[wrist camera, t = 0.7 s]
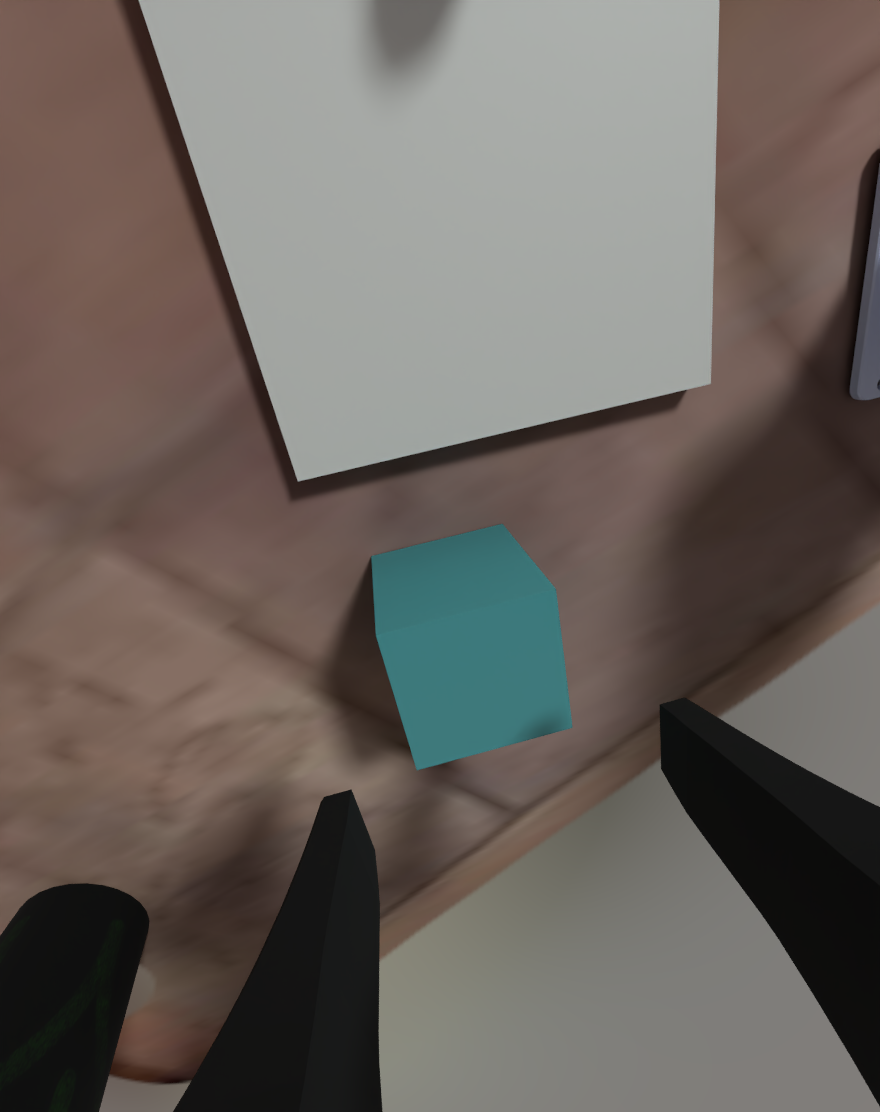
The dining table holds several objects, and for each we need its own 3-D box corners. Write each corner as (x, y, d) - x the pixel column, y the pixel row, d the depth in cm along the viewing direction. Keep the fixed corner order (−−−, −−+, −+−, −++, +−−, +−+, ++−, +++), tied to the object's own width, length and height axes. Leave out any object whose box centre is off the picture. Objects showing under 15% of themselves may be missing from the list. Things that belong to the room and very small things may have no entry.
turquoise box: (502, 523, 18) (555, 589, 13) (520, 635, 20) (572, 727, 15) (371, 556, 18) (375, 635, 13) (402, 665, 20) (416, 770, 15)
